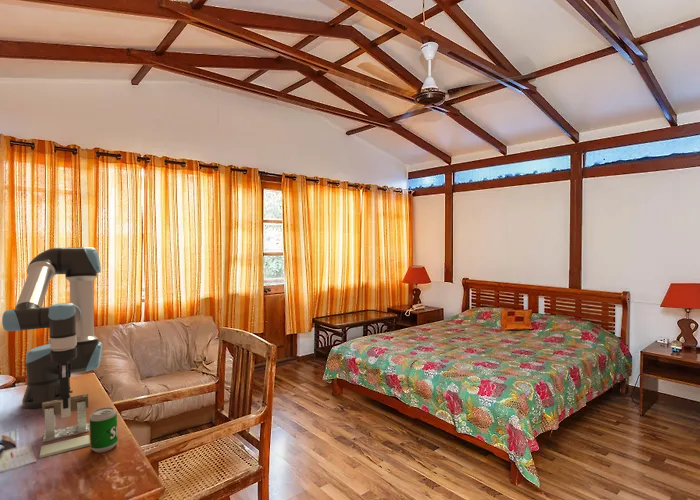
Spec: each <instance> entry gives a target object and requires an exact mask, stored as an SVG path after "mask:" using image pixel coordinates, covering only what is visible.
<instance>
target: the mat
mask: <svg viewBox="0 0 700 500" xmlns="http://www.w3.org/2000/svg"><path fill="white" fill-rule="evenodd" d="M89 446H90V447H91V440H90V435H89V434H88V435H83V436H78V437H74V438H70V439H66V440H65V439H64V440H61V441H57V442H53V443H49V444H44V445H41V447H40V451H39V455H38V456H39V458H40V459H41V458H46V457H50V456H53V455H58V454H61V453H65V452H70V451H73V450H77V449H82V448H86V447H89Z"/></svg>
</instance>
